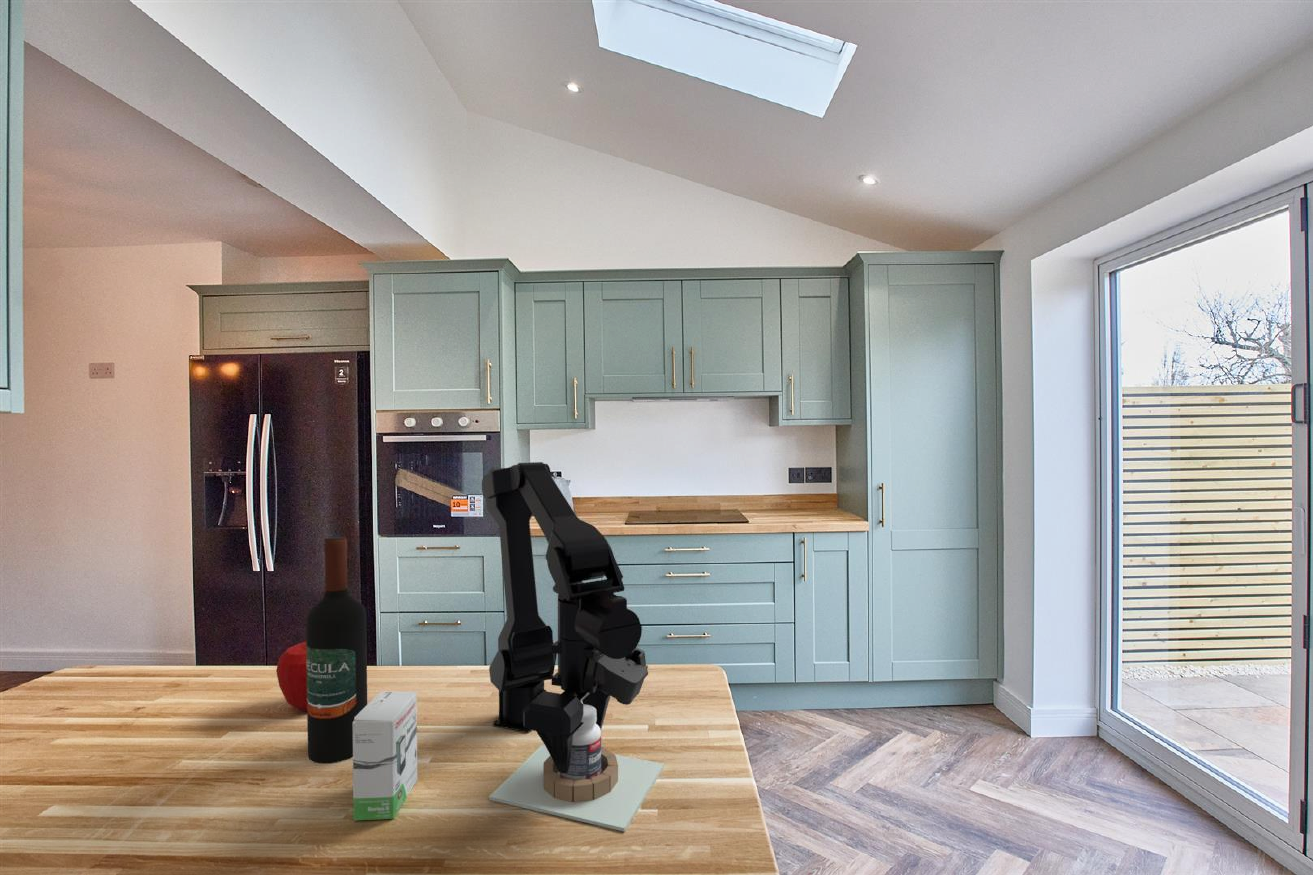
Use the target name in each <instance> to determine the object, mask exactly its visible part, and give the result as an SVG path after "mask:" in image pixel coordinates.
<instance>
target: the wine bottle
mask: <svg viewBox="0 0 1313 875" xmlns="http://www.w3.org/2000/svg"><path fill="white" fill-rule="evenodd" d="M347 540H348V539H347V537H346V536H332V537H327V538H324V544H323V551H324V588H325V590H324V594H323V597H322V598H321V599H320V600H319V601H318V602H317V603H316V604H314V605H313V606H312V608H311V609H310V610H309V611H308V614H307V615H306V620H305V642H306V661H307V711H306V714H307V715H306V716H307V717H306V718H307V719H306V720H307V721H306V722H307V757H308V760H309V761H311V762H313V763H316V764H320V765H321V764H335V763H339V762H343V761H346V760H349V759H353V724H352V723H353V721H354V718H355V716H356V715H357V714H358V713H359V712H360V711H361V710H362V709H363V708H364V707H365V706H366V705H367V704H368V659H367V656H368V646H367V643H368V642H367V638H368V637H367V634H368V633H367V612H366V611H367V610H366V607H365V606H364V605H363V604H362V602H360V601H359V600H358V599H357V598H355V597H353V595H350V592H349V590H348V559H347V558H348V556H347V555H348V542H347Z"/></svg>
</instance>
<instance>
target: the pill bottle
mask: <svg viewBox="0 0 1313 875" xmlns="http://www.w3.org/2000/svg"><path fill="white" fill-rule="evenodd" d="M582 704H583V703H582ZM596 720H597V713H596V709H595V708H594V707H593V706H590V705H585V704H583V717H582V720H581V722H584V724H583V725H582V726H581V727H580V728H579V729H578V730H577V731H576V732H575V733H574V734H573V740H572V749H571V758H570V765H569V770H568V772H567V773H566V774H564V773H560V777H561V778H566V779H570V780H584V779H591V778H593V777H595V776H597V775H600V774H601V747H602V729H600V727H599V726H598V725H597V724H596Z"/></svg>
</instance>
